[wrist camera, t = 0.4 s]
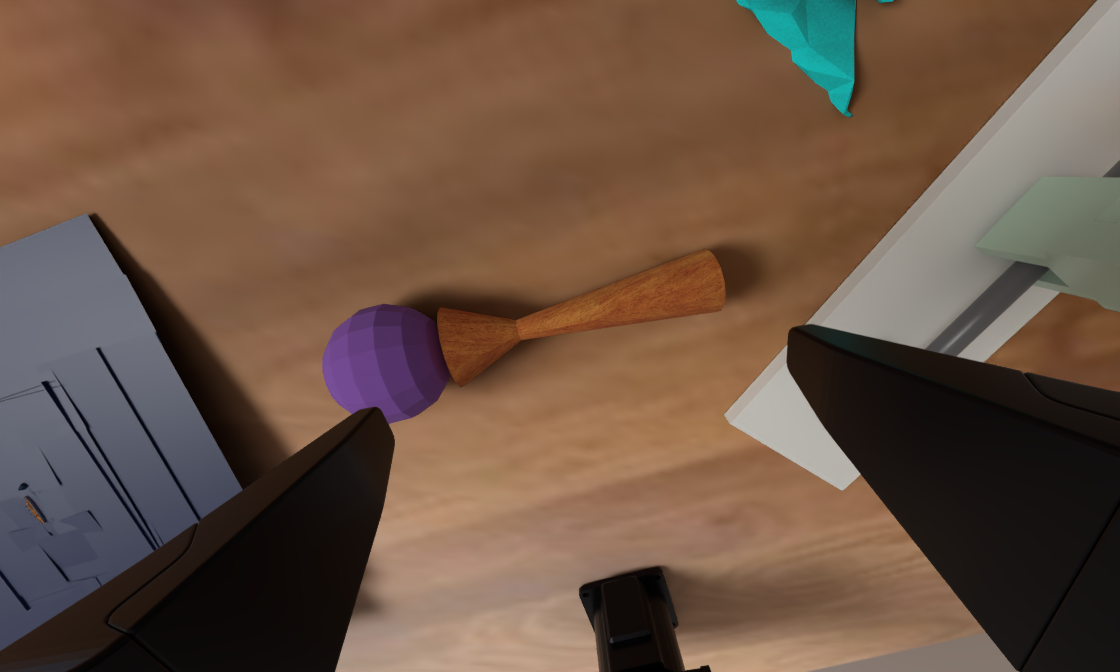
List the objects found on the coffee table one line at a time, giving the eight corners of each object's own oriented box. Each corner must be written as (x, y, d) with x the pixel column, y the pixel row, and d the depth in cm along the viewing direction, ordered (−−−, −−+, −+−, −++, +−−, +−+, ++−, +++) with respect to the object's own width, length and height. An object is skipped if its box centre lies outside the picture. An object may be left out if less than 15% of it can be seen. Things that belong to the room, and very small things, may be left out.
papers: (71, 688, 33) (13, 744, 29) (-212, 330, 25) (-338, 348, 22) (359, 620, 31) (333, 671, 27) (145, 212, 23) (71, 211, 20)
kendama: (737, 358, 21) (344, 461, 21) (688, 304, 26) (372, 386, 26) (741, 245, 18) (275, 365, 17) (684, 209, 23) (323, 301, 22)
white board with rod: (832, 480, 29) (882, 534, 25) (723, 414, 27) (757, 462, 22) (1295, 50, 20) (1499, 17, 16) (1190, -104, 18) (1394, -190, 13)
